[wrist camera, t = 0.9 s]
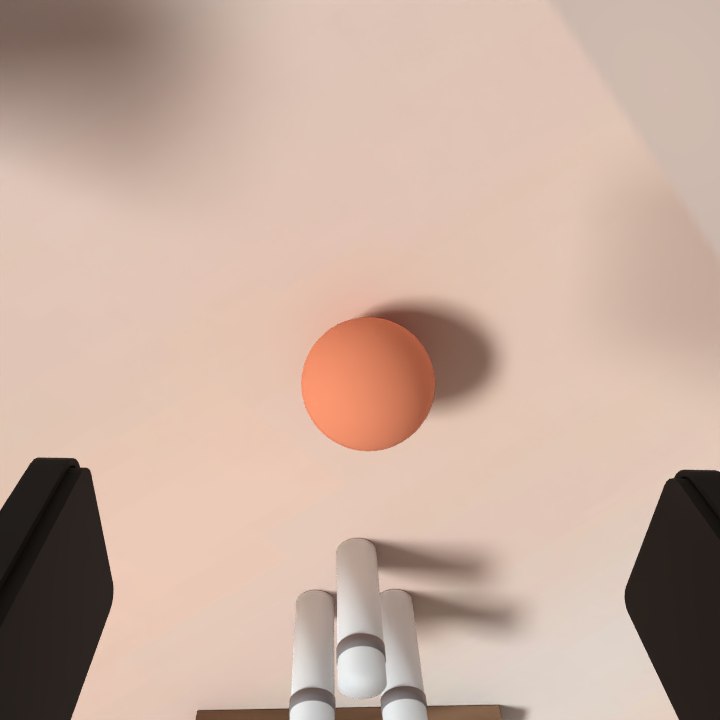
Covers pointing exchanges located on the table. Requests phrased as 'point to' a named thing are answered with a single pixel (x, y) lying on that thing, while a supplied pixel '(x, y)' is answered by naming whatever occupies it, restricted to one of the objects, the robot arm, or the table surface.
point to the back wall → (360, 713)
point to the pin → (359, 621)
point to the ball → (368, 384)
